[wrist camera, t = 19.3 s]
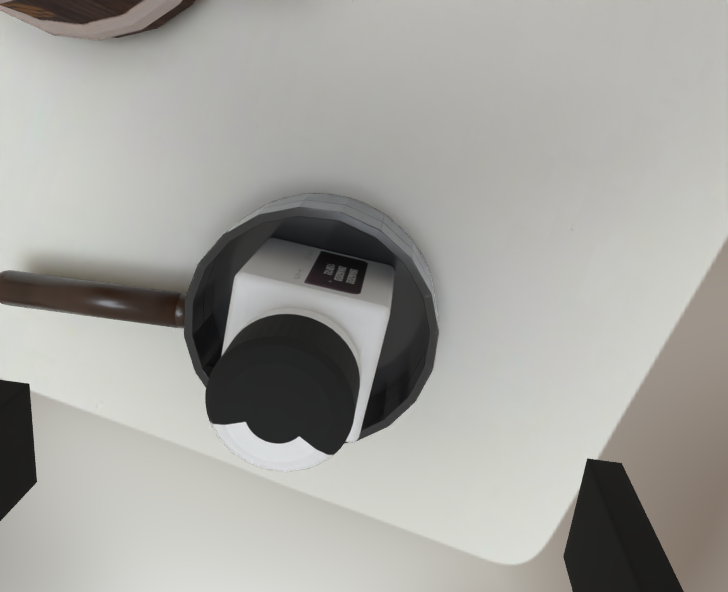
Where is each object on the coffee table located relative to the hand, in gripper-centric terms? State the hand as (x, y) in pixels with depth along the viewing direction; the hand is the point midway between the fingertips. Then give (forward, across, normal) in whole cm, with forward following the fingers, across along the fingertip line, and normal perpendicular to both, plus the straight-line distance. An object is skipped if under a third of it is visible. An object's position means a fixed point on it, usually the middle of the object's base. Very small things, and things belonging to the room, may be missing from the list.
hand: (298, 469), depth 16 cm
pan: (+25, -3, -5) cm, 26 cm away
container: (+24, -3, -5) cm, 25 cm away
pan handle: (+22, -15, -5) cm, 27 cm away
